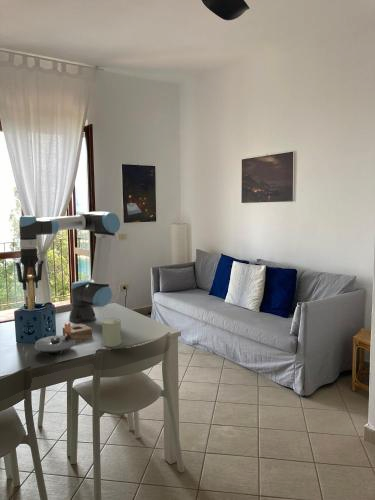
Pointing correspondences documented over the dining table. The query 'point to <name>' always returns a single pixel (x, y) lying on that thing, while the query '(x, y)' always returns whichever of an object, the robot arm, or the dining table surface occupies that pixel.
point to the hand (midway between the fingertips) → (30, 295)
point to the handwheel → (56, 341)
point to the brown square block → (80, 332)
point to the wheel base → (55, 352)
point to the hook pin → (30, 292)
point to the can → (111, 332)
